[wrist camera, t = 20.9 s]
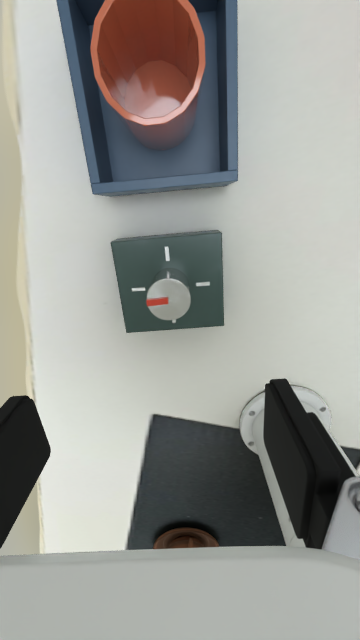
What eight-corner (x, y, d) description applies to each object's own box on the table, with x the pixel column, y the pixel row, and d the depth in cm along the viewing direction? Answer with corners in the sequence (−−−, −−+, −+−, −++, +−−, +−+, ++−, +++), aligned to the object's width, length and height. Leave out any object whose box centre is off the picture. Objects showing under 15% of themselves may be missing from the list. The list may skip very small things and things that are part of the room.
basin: (227, 185, 28) (237, 180, 22) (109, 196, 28) (92, 194, 23) (224, 3, 23) (237, -60, 17) (80, 20, 23) (49, -37, 18)
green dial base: (220, 315, 33) (224, 326, 30) (130, 322, 34) (126, 333, 31) (218, 229, 29) (222, 232, 27) (117, 238, 30) (110, 242, 27)
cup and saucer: (146, 524, 49) (141, 566, 43) (213, 515, 48) (217, 557, 42) (161, 562, 53) (159, 605, 47) (223, 555, 52) (228, 598, 46)
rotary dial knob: (187, 265, 28) (188, 276, 23) (191, 302, 29) (193, 319, 25) (148, 269, 28) (142, 281, 24) (154, 306, 30) (149, 324, 25)
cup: (199, 147, 26) (207, 119, 18) (128, 154, 26) (103, 129, 18) (194, 54, 23) (202, -31, 15) (115, 63, 24) (79, -16, 15)
